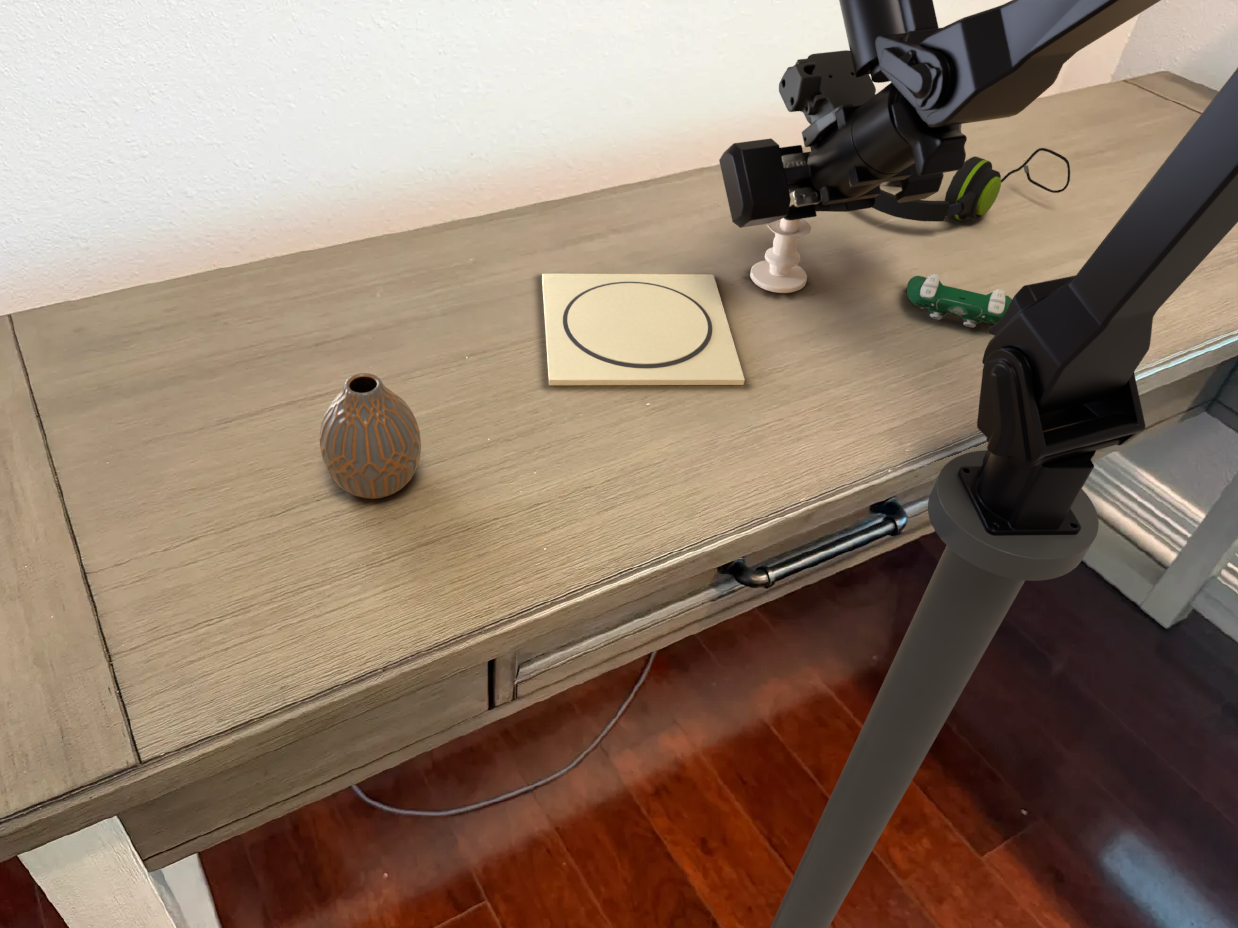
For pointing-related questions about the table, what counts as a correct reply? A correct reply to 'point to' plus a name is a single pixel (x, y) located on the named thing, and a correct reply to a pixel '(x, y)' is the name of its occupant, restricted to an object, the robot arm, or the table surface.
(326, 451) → the vase
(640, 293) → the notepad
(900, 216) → the headphones
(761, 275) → the candle
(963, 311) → the gaming controller
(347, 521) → the table surface
